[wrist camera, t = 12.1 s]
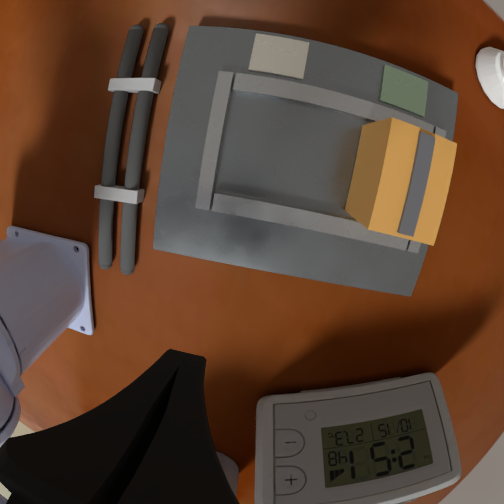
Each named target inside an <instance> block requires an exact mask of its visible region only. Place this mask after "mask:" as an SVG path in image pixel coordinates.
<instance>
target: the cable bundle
mask: <svg viewBox="0 0 504 504" xmlns="http://www.w3.org/2000/svg"><path fill="white" fill-rule="evenodd" d="M143 32H144V29H143V27H142V26H141V25H134V26H132V27H131V28H130V29H129V32H128V36H127V39H126V43H125V46H124V50H123V54H122V58H121V62H120V66H119V70H118V74H117V78H113V79H110V82H109V87H108V91H111V92H114V93H113V98H112V104H111V109H110V115H109V121H108V127H107V134H106V142H105V149H104V158H103V168H102V179H101V184H99V185H95V192H94V198H99V199H100V209H99V266H100V267H101V268H102V269H105V270H106V269H109V268H110V267H111V266H112V240H113V214H114V201H119V202H123V210H122V227H121V258H120V269H121V271H122V273H123V274H125V275H130V274H132V273H133V271H134V266H135V241H136V224H137V211H138V203H141V202H143V201H144V191H145V189H141V188H140V179H141V171H142V162H143V155H144V148H145V141H146V134H147V128H148V122H149V116H150V111H151V105H152V100H153V95H154V93H158V94H159V92H160V87H161V81H160V80H158V79H157V76H158V71H159V67H160V63H161V59H162V55H163V51H164V47H165V43H166V39H167V35H168V32H169V27H168V25H167V24H165V23H159V24H157V25H156V26H155V27H154V29H153V33H152V36H151V40H150V44H149V47H148V51H147V55H146V59H145V63H144V67H143V72H142V76H141V78H132V75H133V71H134V66H135V62H136V58H137V54H138V50H139V47H140V43H141V39H142V36H143ZM129 93H138V95H137V100H136V106H135V111H134V117H133V123H132V129H131V135H130V142H129V150H128V157H127V166H126V175H125V185H124V186H119V185H116V175H117V165H118V157H119V149H120V141H121V134H122V128H123V121H124V115H125V110H126V104H127V99H128V94H129Z"/></svg>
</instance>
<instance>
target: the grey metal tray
mask: <svg viewBox="0 0 504 504" xmlns="http://www.w3.org/2000/svg"><path fill="white" fill-rule="evenodd" d="M457 101H458V93H456V92H454V91H452V90H450V89H449V88H447V87H445V86H442V85H440V84H438V83H436V82H434V81H432V80H430V79H428V78H425V77H423V76H421V75H419V74H416V73H414V72H412V71H409V70H407V69H404V68H402V67H399V66H397V65H394V64H391V63H389V62H386V61H383V60H380V59H377V58H374V57H371V56H368V55H365V54H362V53H359V52H356V51H352V50H349V49H346V48H342V47H338V46H335V45H331V44H327V43H323V42H318V41H314V40H310V39H305V38H300V37H295V36H290V35H284V34H278V33H272V32H265V31H257V30H249V29H240V28H228V27H213V26H189V30H188V34H187V38H186V41H185V45H184V49H183V53H182V58H181V62H180V66H179V71H178V75H177V80H176V84H175V89H174V94H173V99H172V104H171V110H170V115H169V121H168V126H167V132H166V139H165V145H164V152H163V158H162V166H161V173H160V181H159V190H158V199H157V208H156V219H155V230H154V243H153V249H156V250H161V251H166V252H171V253H176V254H181V255H186V256H191V257H196V258H201V259H206V260H211V261H216V262H221V263H227V264H232V265H237V266H242V267H247V268H253V269H258V270H263V271H269V272H274V273H279V274H285V275H290V276H296V277H301V278H307V279H312V280H318V281H323V282H329V283H335V284H340V285H346V286H352V287H357V288H363V289H369V290H375V291H381V292H387V293H392V294H398V295H404V296H410V297H411V295H412V292H413V289H414V287H415V284H416V281H417V278H418V276H419V273H420V270H421V267H422V264H423V261H424V258H425V255H426V252H427V249H428V246H429V245H428V244H424V243H421V242H417V241H413V240H409V239H405V238H401V237H397V236H393V235H389V234H384V233H380V232H376V231H372V230H368V229H367V228H365V227H364V226H363V225H362V224H361V223H359V222H358V221H357V220H356V219H355V218H353V217H352V216H351V215H350V214H348V213H347V212H346V211H345V206H346V202H347V198H348V193H349V189H350V184H351V180H352V175H353V171H354V166H355V161H356V156H357V151H358V146H359V141H360V135H361V130H362V125H365V124H369V123H372V122H376V121H380V120H383V119H387V118H391V117H393V118H396V119H398V120H401V121H404V122H407V123H409V124H412V125H414V126H417V127H420V128H422V129H425V130H427V131H429V132H432V133H434V134H437V135H439V136H441V137H443V138H446V139H448V140H450V141H452V142H453V136H454V128H455V120H456V112H457Z"/></svg>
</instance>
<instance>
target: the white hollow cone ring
mask: <svg viewBox="0 0 504 504" xmlns="http://www.w3.org/2000/svg"><path fill="white" fill-rule="evenodd" d="M476 71H477V75H478V79H479V81H480V84H481V86H482V88H483V90H484V92H485V93H486V95H487V96H488V97H489V99H490V100H491V101H492V102H493V103H494V104H495V105H497V106H498V107H499V108H502V109H504V51H502V50H499V49H496V48H492V47H487V48H483V49H481V50H480V51H479V53H478V54H477V56H476Z"/></svg>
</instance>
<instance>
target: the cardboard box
mask: <svg viewBox="0 0 504 504" xmlns="http://www.w3.org/2000/svg"><path fill="white" fill-rule="evenodd" d="M456 148H457V143H454V142H452V141H450V140H448V139H446V138H443V137H441V136H439V135H437V134H434V133H432V132H429V131H427V130H425V129H422V128H420V127H417V126H414V125H412V124H409V123H407V122H404V121H401V120H398V119H396V118H393V117H391V118H387V119H383V120H380V121H376V122H372V123H369V124H365V125H362V130H361V135H360V141H359V146H358V151H357V156H356V161H355V166H354V171H353V175H352V180H351V184H350V189H349V193H348V198H347V202H346V206H345V211H346V212H347V213H348V214H350V215H351V216H352V217H353V218H355V219H356V220H357V221H358V222H359V223H361V224H362V225H363V226H364V227H365V228H367V229H368V230H372V231H376V232H380V233H384V234H389V235H393V236H397V237H401V238H405V239H409V240H413V241H417V242H421V243H424V244H428V245H432V246H434V243H435V239H436V236H437V233H438V229H439V226H440V222H441V218H442V214H443V211H444V207H445V203H446V198H447V194H448V190H449V185H450V181H451V176H452V171H453V166H454V160H455V154H456Z"/></svg>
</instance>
